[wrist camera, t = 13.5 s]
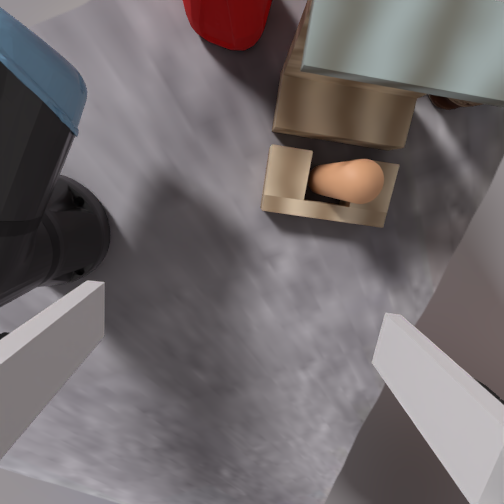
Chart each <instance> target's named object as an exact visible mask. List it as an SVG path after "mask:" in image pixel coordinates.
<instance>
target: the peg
mask: <svg viewBox="0 0 504 504" xmlns="http://www.w3.org/2000/svg"><path fill="white" fill-rule="evenodd" d="M307 182H308V186H309V188H310V189H311V191H313V192H314V193H316V194H319V195H323V196H327V197H331V198H335V199H339V200H343V201H348V202H352V203H356V204H365V203H368V202H370V201H372V200H374V199H375V198H376V197H377V196H378V195H379V193H380V192H381V190H382V188H383V184H384V174H383V171H382V169H381V167H380V166H379V165H378V164H377V163H376V162H374V161H372V160H369V159H359V160H351V161H344V162H337V163H330V164H323V165H318V166H316V167H314V168H313V169H312V170H311V171H310V173H309V175H308V180H307Z"/></svg>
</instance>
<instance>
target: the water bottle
mask: <svg viewBox="0 0 504 504" xmlns="http://www.w3.org/2000/svg"><path fill="white" fill-rule="evenodd" d="M271 2H272V0H183V3H184V7H185V12H186V15H187V18H188V20H189V22H190V25H191V27H192V28H193V29H194V30H195V32H196V33H197V34H199V35H200V36H201V37H203V38H204V39H205V40H207V41H209V42H211V43H214V44H216V45H219V46H222V47H224V48H227V49H229V50H243V51H244V50H246V49H248V48H250V47H252V46H254V45H255V43H256V42H257V41H258V40H259V38H260V37H261V35H262V33H263V31H264V27H265V24H266V20H267V17H268V13H269V10H270V6H271Z"/></svg>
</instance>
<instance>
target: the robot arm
mask: <svg viewBox="0 0 504 504" xmlns="http://www.w3.org/2000/svg"><path fill="white" fill-rule="evenodd" d="M86 99H87V88H86V85H85V82H84V80H83V78H82V76H81V75H80V74H79V72H78V71H77V70H76V69H75V68H74V67H73V66H72V65H71V64H70V63H69V62H68V61H67V60H66V59H65V58H64V57H62V56H61V55H60V54H59V53H58V52H57V51H55V50H54V49H53V48H52V47H50V46H49V45H48V44H47V43H46V42H44V41H43V40H42V39H41V38H39V37H38V36H37V35H36V34H34V33H33V32H32V31H31V30H29V29H28V28H27V27H26V26H24V25H23V24H22V23H20V22H19V21H18V20H16V19H15V18H14V17H13V16H11V15H10V14H9V13H7V12H6V11H5V10H4V9H2V8H1V7H0V307H2V306H3V305H5V304H7V303H9V302H11V301H13V300H14V299H16V298H18V297H20V296H22V295H23V294H25V293H27V292H29V291H31V290H32V289H34V288H36V287H41V286H51V285H60V284H66V283H70V282H73V281H76V280H78V279H80V278H82V277H83V276H85V275H87V274H88V273H90V272H91V271H93V270H94V269H95V268H96V267H97V266H98V265H99V264H100V263H101V262H102V260H103V259H104V257H105V255H106V253H107V250H108V247H109V242H110V228H109V223H108V219H107V216H106V214H105V211H104V209H103V208H102V206H101V204H100V203H99V201H98V200H97V199H96V197H95V196H94V195H93V194H92V193H91V192H90V191H89V190H88V189H87V188H85V187H84V186H83V185H81V184H80V183H78V182H76V181H75V180H73V179H71V178H68V177H66V176H63V175H60V172H61V170H62V167H63V165H64V162H65V160H66V157H67V155H68V152H69V150H70V147H71V145H72V142H73V140H74V137H75V136H76V137H77V136H78V133H79V132H78V128H77V127H78V124H79V121H80V118H81V115H82V112H83V109H84V106H85V103H86ZM104 337H105V282H99V281H89V280H87V281H85V282H84V283H82V284H81V285H80V286H78V287H77V288H75V289H74V290H72V291H71V292H69V293H68V294H66V295H65V296H64V297H62V298H61V299H59V300H58V301H56V302H55V303H53V304H52V305H50V306H49V307H47V308H46V309H45V310H43V311H42V312H40V313H39V314H37V315H36V316H34V317H33V318H31V319H30V320H28V321H27V322H26V323H24V324H23V325H21V326H20V327H18V328H17V329H15V330H14V331H12V332H11V333H6V332H4V333H2V334H0V460H1V459H2V457H3V456H4V455H5V454H6V453H7V451H8V450H9V449H10V448H11V447H12V446H13V444H14V443H15V442H16V441H17V440H18V438H19V437H20V436H21V435H22V434H23V433H24V431H25V430H26V429H27V428H28V427H29V425H30V424H31V423H32V422H33V421H34V419H35V418H36V417H37V416H38V415H39V414H40V412H41V411H42V410H43V409H44V408H45V406H46V405H47V404H48V403H49V402H50V401H51V399H52V398H53V397H54V396H55V395H56V393H57V392H58V391H59V390H60V389H61V388H62V386H63V385H64V384H65V383H66V382H67V380H68V379H69V378H70V377H71V376H72V375H73V373H74V372H75V371H76V370H77V369H78V367H79V366H80V365H81V364H82V363H83V361H84V360H85V359H86V358H87V357H88V356H89V354H90V353H91V352H92V351H93V350H94V348H95V347H96V346H97V345H98V344H99V343H100V341H101V340H102V339H103V338H104ZM372 364H373V365H374V366H375V368H376V369H377V371H378V372H379V374H380V375H381V377H382V378H383V379H384V381H385V382H386V384H387V385H388V387H389V388H390V389H391V391H392V392H393V394H394V395H395V397H396V398H397V399H398V401H399V402H400V404H401V405H402V407H403V408H404V410H405V411H406V412H407V414H408V415H409V417H410V418H411V420H412V421H413V423H414V424H415V425H416V427H417V428H418V430H419V431H420V433H421V434H422V435H423V437H424V438H425V440H426V441H427V443H428V444H429V445H430V447H431V448H432V450H433V451H434V453H435V454H436V456H437V457H438V458H439V460H440V461H441V463H442V464H443V466H444V467H445V468H446V470H447V471H448V473H449V474H450V476H451V477H452V479H453V480H454V481H455V483H456V484H457V486H458V487H459V489H460V490H461V492H462V493H463V494H464V496H465V497H466V499H467V500H468V501H469V503H470V504H504V401H503V400H501V399H500V398H499V397H498V396H497V395H496V394H495V393H494V392H493V391H492V390H490V389H489V388H488V387H487V386H486V385H484V384H482V383H481V382H479V381H477V380H476V379H474V378H473V377H471V376H470V375H469V374H468V373H467V372H466V371H464V370H463V369H462V368H461V367H460V366H458V364H456V363H455V362H454V361H453V360H452V359H451V358H449V357H448V356H447V355H446V354H445V353H444V352H443V351H441V350H440V349H439V348H438V347H437V346H436V345H435V344H434V343H432V342H431V341H430V340H429V339H428V338H427V337H425V336H424V335H423V334H422V333H421V332H420V331H419V330H417V329H416V328H415V327H414V326H413V325H412V324H411V323H410V322H409V321H407V320H406V319H405V318H404V317H403V316H402V315H400V314H390V313H385V316H384V320H383V324H382V327H381V331H380V334H379V338H378V342H377V345H376V349H375V353H374V356H373V360H372Z"/></svg>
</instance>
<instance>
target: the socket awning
mask: <svg viewBox="0 0 504 504" xmlns="http://www.w3.org/2000/svg"><path fill="white" fill-rule="evenodd" d="M426 94H431V95H437V96H442V97H448V98H454V99H459V100H465V101H471V102H476V103H482V104H488V105H493V106H499V107H504V2H500V1H495V0H308V1H307V3H306V6H305V9H304V11H303V14H302V17H301V19H300V22H299V25H298V28H297V30H296V33H295V36H294V38H293V41H292V44H291V47H290V49H289V52H288V55H287V57H286V60H285V63H284V66H283V68H282V71H281V75H280V82H279V88H278V95H277V102H276V108H275V115H274V121H273V128H272V132H277V133H283V134H289V135H296V136H302V137H308V138H314V139H320V140H326V141H333V142H339V143H345V144H351V145H357V146H364V147H370V148H376V149H382V150H394V149H400V148H404V146H405V142H406V139H407V135H408V131H409V127H410V123H411V119H412V116H413V112H414V108H415V104H416V100H417V98H420V97H422V96H424V95H426ZM312 154H313V151H311V150H304V149H298V148H292V147H285V146H279V145H273V144H272V145H271V147H270V148H269V154H268V161H267V167H266V174H265V180H264V187H263V194H262V200H261V209H262V211H269V212H276V213H283V214H290V215H297V216H304V217H311V218H318V219H325V220H332V221H339V222H346V223H353V224H360V225H367V226H374V227H381V228H383V226H384V222H385V218H386V215H387V211H388V207H389V203H390V199H391V196H392V192H393V188H394V184H395V180H396V177H397V173H398V169H399V164H392V163H386V162H380V161H374V160H372V161H374V162H376V163H377V164H378V165H379V166H380V167H381V169H382V171H383V174H384V184H383V188H382V190H381V192H380V193H379V195H378V196H377V197H376V198H375V199H374V200H372V201H370V202H368V203H365V204H356V203H352V202H348V201H343V200H340V204H335V203H328V202H321V201H314V200H308V199H304V196H305V191H306V186H307V180H308V175H309V170H310V164H311V159H312ZM360 159H361V158H360ZM354 160H359V159H354ZM349 161H351V160H349Z"/></svg>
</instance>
